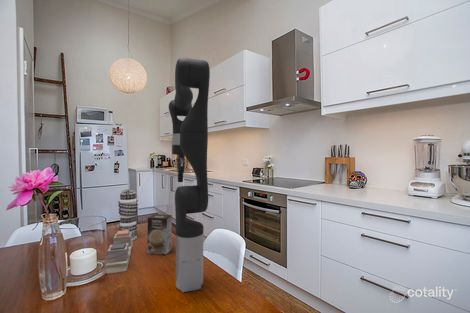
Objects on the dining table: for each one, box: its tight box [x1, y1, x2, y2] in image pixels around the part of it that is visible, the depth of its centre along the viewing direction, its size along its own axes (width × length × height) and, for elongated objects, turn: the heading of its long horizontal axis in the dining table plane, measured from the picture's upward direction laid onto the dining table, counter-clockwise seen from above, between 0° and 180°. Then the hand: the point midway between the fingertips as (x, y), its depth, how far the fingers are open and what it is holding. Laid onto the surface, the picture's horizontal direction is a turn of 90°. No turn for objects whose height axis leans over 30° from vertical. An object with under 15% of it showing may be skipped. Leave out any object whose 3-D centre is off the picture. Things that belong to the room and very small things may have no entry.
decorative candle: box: [117, 188, 139, 241], centre depth 120 cm, size 9×9×25 cm
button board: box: [105, 232, 133, 275], centre depth 97 cm, size 24×7×8 cm, turn 19°
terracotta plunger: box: [116, 230, 129, 237], centre depth 103 cm, size 4×4×5 cm
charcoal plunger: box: [111, 243, 125, 250], centre depth 90 cm, size 4×4×5 cm
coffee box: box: [146, 213, 173, 256], centre depth 104 cm, size 9×6×16 cm
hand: (180, 181), depth 106 cm, fingers closed
